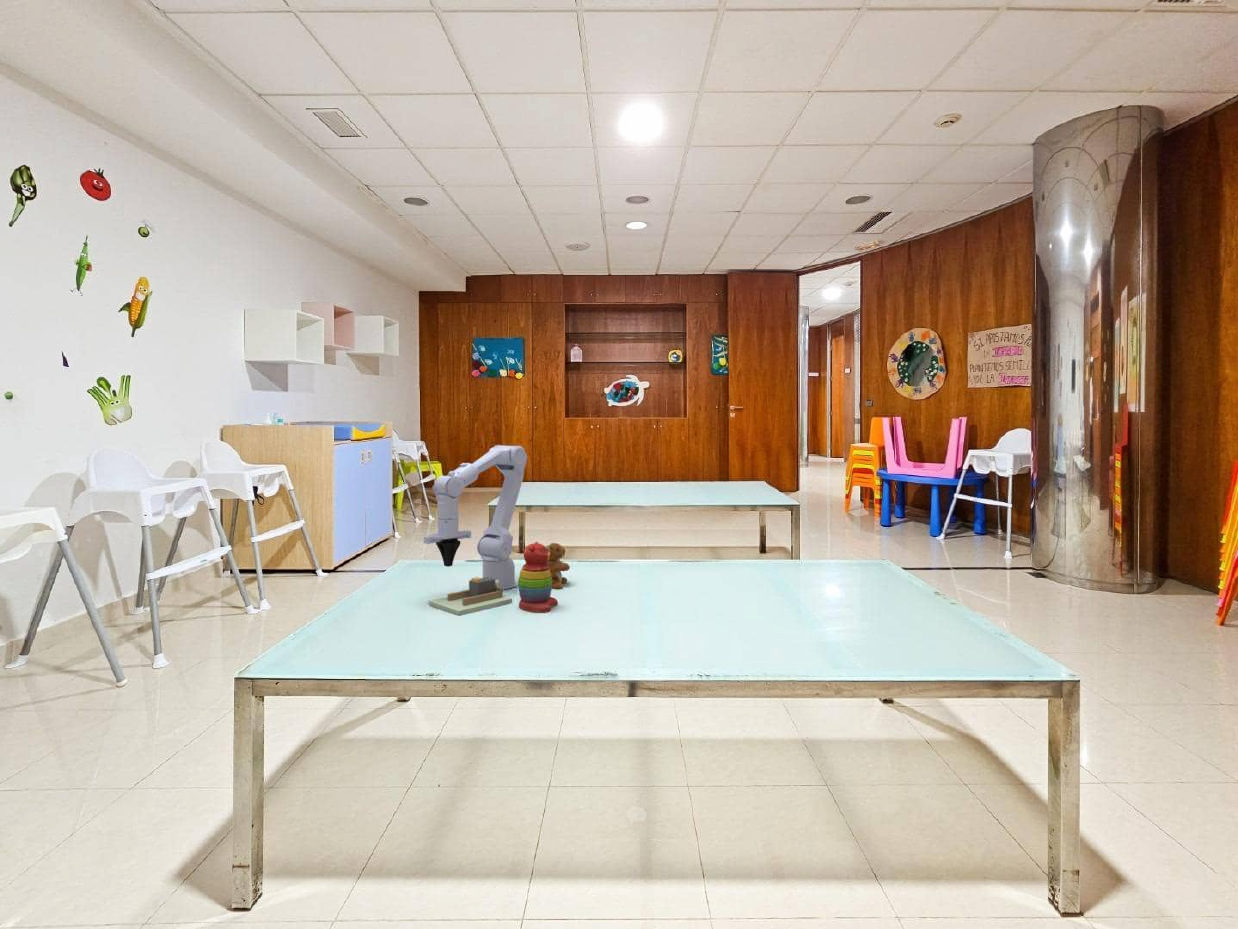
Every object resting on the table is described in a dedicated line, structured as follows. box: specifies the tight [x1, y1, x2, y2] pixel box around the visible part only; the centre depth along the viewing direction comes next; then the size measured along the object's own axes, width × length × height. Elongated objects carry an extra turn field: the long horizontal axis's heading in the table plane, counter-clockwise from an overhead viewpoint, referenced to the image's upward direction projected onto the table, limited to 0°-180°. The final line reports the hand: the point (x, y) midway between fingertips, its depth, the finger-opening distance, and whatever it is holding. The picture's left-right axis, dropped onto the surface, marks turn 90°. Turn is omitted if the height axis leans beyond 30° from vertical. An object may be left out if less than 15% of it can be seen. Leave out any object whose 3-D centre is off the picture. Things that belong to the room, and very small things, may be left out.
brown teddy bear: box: [545, 542, 571, 590], centre depth 219 cm, size 10×14×13 cm
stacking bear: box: [517, 541, 559, 613], centre depth 193 cm, size 11×10×18 cm
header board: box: [428, 580, 513, 616], centre depth 195 cm, size 18×14×6 cm
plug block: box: [468, 576, 495, 597], centre depth 198 cm, size 6×4×6 cm, turn 139°
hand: (448, 565), depth 198 cm, fingers closed
